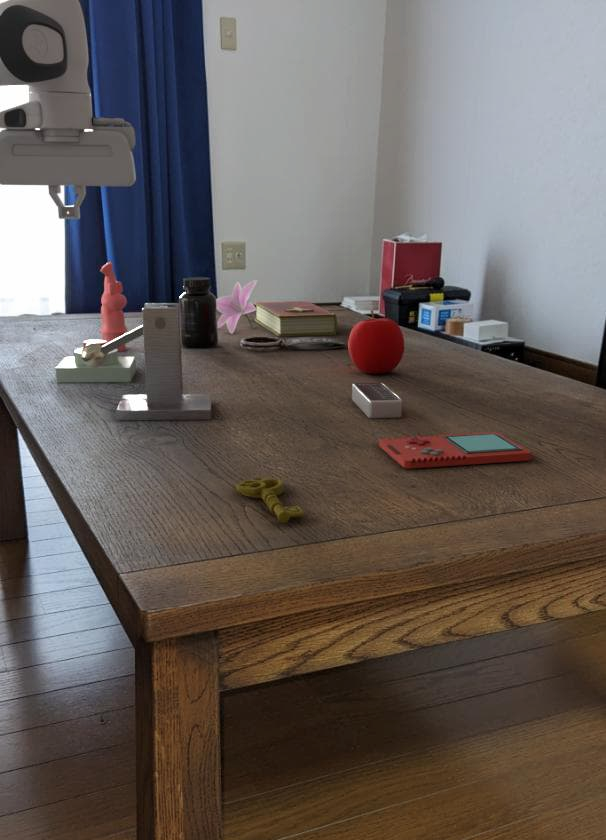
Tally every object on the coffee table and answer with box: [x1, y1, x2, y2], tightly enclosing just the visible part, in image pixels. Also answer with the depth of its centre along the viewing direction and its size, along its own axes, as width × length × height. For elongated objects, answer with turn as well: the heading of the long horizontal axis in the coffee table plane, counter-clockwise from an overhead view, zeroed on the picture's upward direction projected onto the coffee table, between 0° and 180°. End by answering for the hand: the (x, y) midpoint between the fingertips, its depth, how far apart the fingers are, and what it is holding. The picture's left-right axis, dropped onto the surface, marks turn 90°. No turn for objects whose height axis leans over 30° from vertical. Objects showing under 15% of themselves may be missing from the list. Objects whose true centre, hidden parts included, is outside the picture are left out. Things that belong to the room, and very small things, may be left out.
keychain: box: [239, 336, 347, 352], centre depth 164 cm, size 8×19×2 cm, turn 99°
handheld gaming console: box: [379, 431, 532, 469], centre depth 103 cm, size 9×1×15 cm
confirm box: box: [55, 347, 137, 383], centre depth 139 cm, size 11×9×4 cm
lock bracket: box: [115, 302, 213, 421], centre depth 117 cm, size 12×9×14 cm
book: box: [253, 300, 338, 338], centre depth 186 cm, size 12×21×4 cm, turn 16°
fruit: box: [347, 309, 405, 375], centre depth 143 cm, size 9×9×10 cm
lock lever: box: [81, 306, 168, 368], centre depth 116 cm, size 13×3×3 cm, turn 95°
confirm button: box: [82, 339, 107, 347], centre depth 138 cm, size 4×4×2 cm
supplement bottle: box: [178, 276, 219, 349], centre depth 164 cm, size 7×7×12 cm
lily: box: [216, 279, 259, 335], centre depth 182 cm, size 12×12×10 cm
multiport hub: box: [351, 382, 403, 419], centre depth 122 cm, size 4×11×2 cm, turn 10°
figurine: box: [99, 261, 129, 352], centre depth 158 cm, size 5×5×15 cm
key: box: [235, 477, 305, 524], centre depth 86 cm, size 12×1×5 cm
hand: (69, 218), depth 135 cm, fingers closed
